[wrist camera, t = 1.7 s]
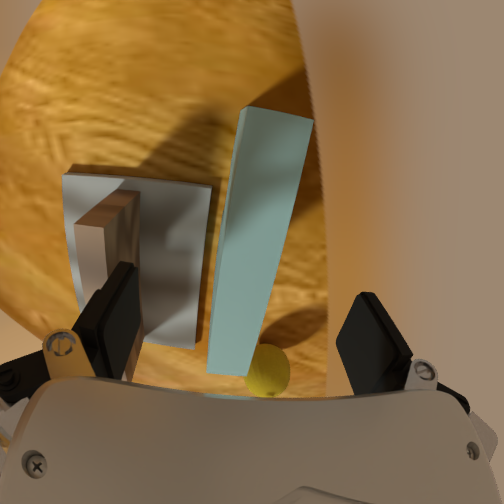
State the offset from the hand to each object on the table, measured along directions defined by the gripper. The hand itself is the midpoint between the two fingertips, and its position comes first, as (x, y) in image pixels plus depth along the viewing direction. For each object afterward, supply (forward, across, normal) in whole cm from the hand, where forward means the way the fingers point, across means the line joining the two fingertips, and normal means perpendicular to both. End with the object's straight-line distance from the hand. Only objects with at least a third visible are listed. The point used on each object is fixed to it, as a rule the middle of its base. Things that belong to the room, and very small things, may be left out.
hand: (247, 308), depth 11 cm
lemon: (+16, -6, +18) cm, 25 cm away
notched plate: (+15, 0, -1) cm, 15 cm away
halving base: (+16, +10, +9) cm, 21 cm away
